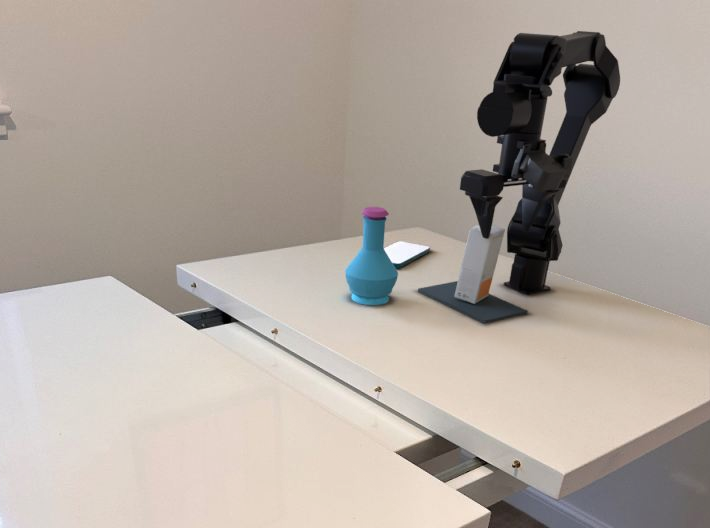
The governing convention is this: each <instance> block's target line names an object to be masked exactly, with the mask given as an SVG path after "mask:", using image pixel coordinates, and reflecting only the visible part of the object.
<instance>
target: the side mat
mask: <svg viewBox="0 0 710 528" xmlns="http://www.w3.org/2000/svg"><path fill="white" fill-rule="evenodd" d="M457 283H458V280H456V281H451V282H445V283H440V284H436V285H430V286H424V287H420V288H418V289H417V292H418V293H420V294H421V295H424V296H426V297H427V298H430V299H432V300H434V301H436V302H438V303H440V304H443V305H444V306H446V307H449V308H451V309H452V310H454V311H456V312H459V313H461V314H463V315H465V316H468V317H470V318H471V319H474V320H476V321H478V322H479V323H482V324H484V325H486V324H489V323H494V322H498V321H503V320H507V319H511V318H516V317H519V316H524V315H527V314H528V310H527V309H524V308H523V307H520V306H518V305H516V304H514V303H511V302H508V301H507V300H504V299H502V298H500V297H497V296H495V295H493V294H490V293H489V294H488V296H487V297H485V298H484V299H482V300H480V301H478V302H477V303H475V304H473V303H470V302H467V301H464V300H461V299H458V298H456V297H454V296H455V291H456V287H457Z"/></svg>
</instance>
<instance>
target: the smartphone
mask: <svg viewBox="0 0 710 528" xmlns="http://www.w3.org/2000/svg"><path fill="white" fill-rule="evenodd" d="M383 248H384V250H385V252H386V253H387V255H388V257H389V258H390V260H391V262H392V263H393V265H394V266H395V268H402V267H403V266H405V265H408V264H409V263H411V262H413V261H414V260H417V259H419V258H421V257H422V256H424V255H426V254H428V253H429V252H431V246H429V245H422V244H418V243H412V242H407V241H401V240H399V241H396V242H393V243H391V244H390V245H387V246H384V247H383Z"/></svg>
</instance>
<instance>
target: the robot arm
mask: <svg viewBox="0 0 710 528" xmlns="http://www.w3.org/2000/svg"><path fill="white" fill-rule="evenodd" d="M505 52H506V53H505V55H504V56H503V59H502V61H501V64H500V65H499V69H498V70H497V72H496V75H495V77H494V80H493V85H492V86H493V87H492V91H491V92H489V93H488V94H486V96H484V97H483V99H482V100H481V101H480V104H479V106H478V108H477V110H476V111H477V112H476V120H477V124H478V127H479V129H480V130H481V132H482V133H484V134H485V135H486V136H488V137H491V138H495V137H497V139H496V144H499V145H501V150H500V155H499V162H498V163H495V164H493V166H492V171H489V170H485V169H474V170H473V169H472V170H466V171H464V173H463V174H462V175H461V176H460V184H459V190H460V191H463V192H464V195H465V196H467V197H469V199H470V202H471V205H472V206H473V209H474V212H475V217H476V219H477V222H478V225H479V226H480V230H481V233H482V237H483V238H485V239H488V238H489V235H490V232H491V227H492V225H493V221H494V217H495V212H496V211H495V210H496V206H497V205H498V204H499V203H500V202H501V201H502V199H503V198H504V197H503V196H500V194H501V193H502V192H503V191H504V188H506V187H515V186H522V189H521V190H522V193H521V196H522V198H520V200H519V201H518V203H517V206H516V208H515V211H514V213H513V215H512V217H511V219H510V221H509V223H508V225H507V229H506V253H507V254H508V253H509V254H510V253H511V254H514V258H513V263H512V264H511V269H510V276H509V281H505V282H503V286H505V287H507V288H509V289H512V290H513V291H516V292H519V293H521V294H523V295H527V296H529V295H534V294H539V293H543V292H548V291H551V289H552V286H549V285H548V284H547V285H546V281H547V276H548V273H549V272H548V271H549V267H550V262H557V261H559V258H560V255H561V253H562V250H563V245H564V244H563V241H562V237H561V234H560V229H559V228H560V226H561V216H560V210H559V209H560V208H559V204H560V202H561V200H562V198H563V194H564V193H565V191H566V190H565V189H566V188H567V187H566V186H567V185H568V183H569V180H570V177H571V175H572V172H573V170H574V167H575V165H576V163H577V160H578V158H579V155H580V154H581V151H582V148H583V146H584V143H585V141H586V139H587V136H588V133H589V131H590V128H591V126H592V125H593V124H594V123H596V122H597V121H598V120H599V119H600V118H601V117H602V116H604V115H605V114H606V113H607V111H608V110H609V107H610V105H611V103H612V101H613V99H614V98H616V96H617V95H618V92H619V90H620V86H621V73H620V65H619V59H617V57H616V56H615V55H614V54H613V53H612V51H611V50H610V48H609V47H608V46H607V43H606V37H605V35H604V34H603V33H601V32H599V31H587V30H586V31H585V30H576V32H573V33H569V34H564V35H563V34H562V35H558V34H557V35H556V34H541V33H528V32H527V33H526V32H519V33H517V34H516V35H515V36H514V37H513V41H511V42H510V44H509V45H508V48H507V51H505ZM587 62H593V64H588V63H587ZM563 68H565V69H564V71H563V73H562V69H563ZM561 74H562V78H563V83H564V88H565V90H564V93H563V98H564V104H565V110H566V112H565V115H564V117H563V120H562V122H561V125H560V127H559V130H558V131H557V134H556V137H555V140H554V142H553V144H552V147H551V150H550V152H549V154H548V153H546V151H547V140H546V139H542V138H541V136H542V131H543V125H544V120H545V115H546V109H547V104H548V98H549V97H551V96H552V95H553V90H552V87H551V86H552V84H553V82H554V80H555V79H556V78H557V77H559V76H560V75H561Z"/></svg>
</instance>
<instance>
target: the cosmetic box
mask: <svg viewBox="0 0 710 528" xmlns="http://www.w3.org/2000/svg"><path fill="white" fill-rule="evenodd" d="M505 233H506V229H505V228H503V227H500V226H497V225H494V224H492V227H491V232H490V235H489V238H488V239H485V238H483V237H482V233H481V230H480V226H479V224H476V225H475V226H473V227H471V228H469V231H468V235H467V240H466V244H465V249H464V253H463V257H462V262H461V266H460V271H459V274H458V279H457V281H458V283H457V287H456V291H455V296H454V297H456V298H458V299H461V300H464V301H467V302H470V303H473V304H475V303H477V302H478V301H480V300H482V299H484V298H485V297H487V296H488V294H490V289H491V287H492V282H493V279H494V274H495V271H496V266H497V264H498V263H497V262H498V258H499V255H500V252H501V247H502V243H503V239H504V236H505Z"/></svg>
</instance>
